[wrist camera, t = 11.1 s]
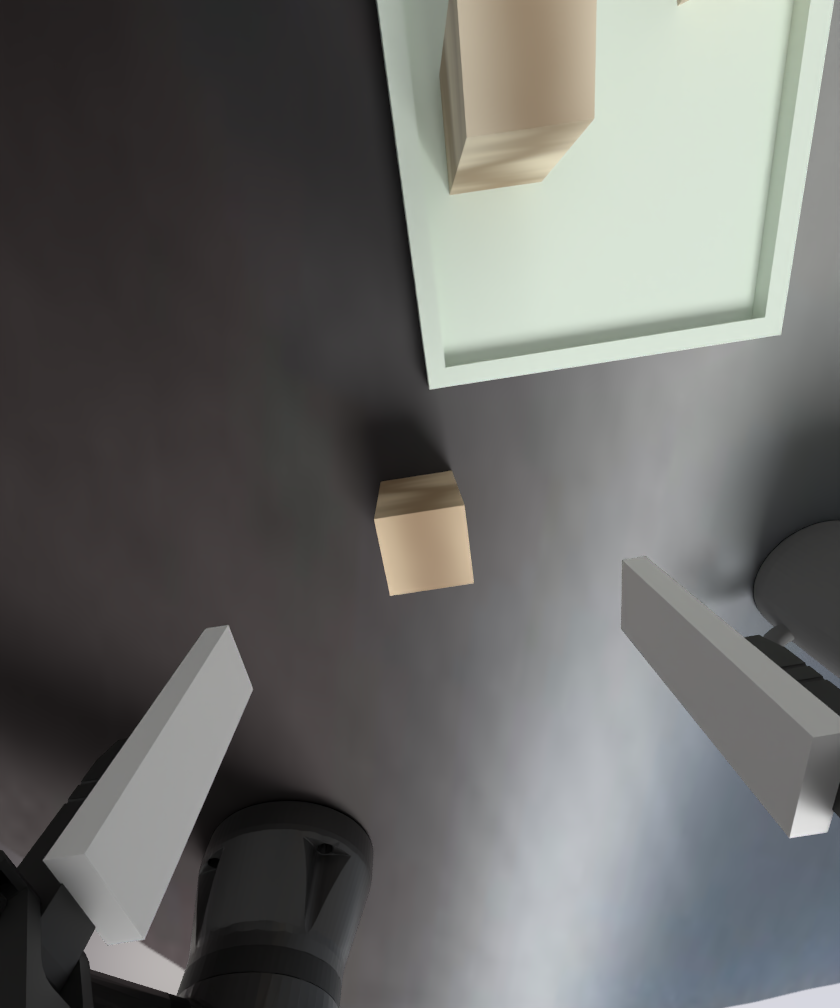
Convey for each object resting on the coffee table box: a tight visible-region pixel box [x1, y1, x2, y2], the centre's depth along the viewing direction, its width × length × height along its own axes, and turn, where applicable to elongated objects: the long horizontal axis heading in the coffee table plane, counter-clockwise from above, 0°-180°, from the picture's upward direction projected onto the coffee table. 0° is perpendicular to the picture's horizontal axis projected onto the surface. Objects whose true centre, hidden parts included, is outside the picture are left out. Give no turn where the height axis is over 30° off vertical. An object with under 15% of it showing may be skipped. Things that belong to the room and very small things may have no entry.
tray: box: [376, 0, 834, 389], centre depth 19 cm, size 19×21×2 cm
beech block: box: [439, 0, 597, 195], centre depth 16 cm, size 4×4×6 cm
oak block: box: [374, 471, 474, 596], centre depth 24 cm, size 4×4×6 cm
